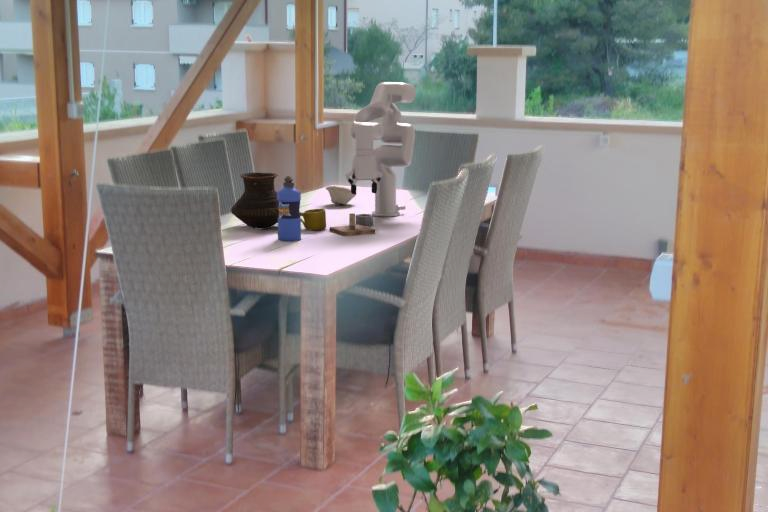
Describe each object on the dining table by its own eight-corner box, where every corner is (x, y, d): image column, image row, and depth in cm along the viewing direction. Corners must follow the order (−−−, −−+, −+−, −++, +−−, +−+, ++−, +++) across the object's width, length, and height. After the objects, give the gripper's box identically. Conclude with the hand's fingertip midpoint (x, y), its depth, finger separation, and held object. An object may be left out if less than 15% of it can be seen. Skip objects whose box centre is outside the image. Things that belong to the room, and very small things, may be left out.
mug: (333, 223, 439) (326, 202, 435) (325, 234, 431) (317, 213, 427) (308, 226, 444) (300, 206, 440) (299, 238, 436) (291, 216, 432)
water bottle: (291, 242, 406) (290, 178, 401) (272, 240, 411) (271, 177, 406) (305, 238, 414) (305, 176, 409) (287, 236, 418) (286, 174, 413)
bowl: (362, 204, 506) (362, 183, 504) (345, 208, 494) (345, 187, 492) (336, 201, 514) (336, 181, 512) (320, 205, 502) (319, 184, 500)
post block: (359, 228, 439) (359, 210, 438) (375, 233, 427) (375, 215, 426) (329, 230, 432) (329, 212, 431) (344, 235, 420) (344, 217, 419)
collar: (367, 223, 450) (367, 213, 450) (375, 225, 444) (375, 215, 444) (353, 224, 447) (353, 214, 446) (360, 227, 441) (360, 216, 440)
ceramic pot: (219, 229, 435) (218, 175, 431) (254, 220, 456) (253, 169, 452) (267, 234, 424) (266, 179, 419) (301, 225, 445) (300, 173, 440)
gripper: (378, 151, 447) (377, 191, 450) (341, 153, 439) (341, 193, 442) (386, 153, 441) (386, 193, 443) (350, 154, 432) (349, 195, 435)
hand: (364, 193), depth 443 cm, fingers open, 9 cm apart
